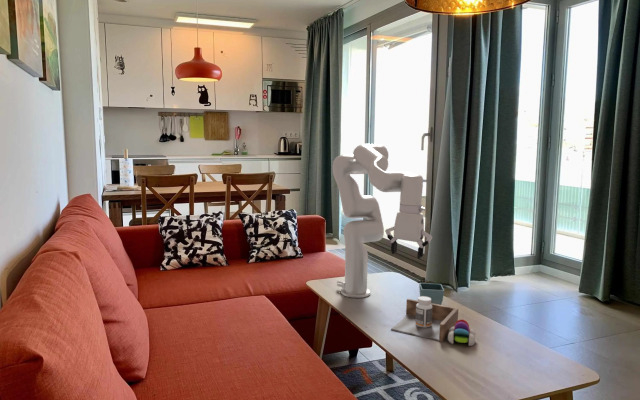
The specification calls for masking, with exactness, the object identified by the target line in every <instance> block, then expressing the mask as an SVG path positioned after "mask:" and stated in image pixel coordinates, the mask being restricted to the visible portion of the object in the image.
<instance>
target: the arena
mask: <svg viewBox="0 0 640 400" xmlns="http://www.w3.org/2000/svg"><path fill="white" fill-rule="evenodd" d="M417 303H418V299H411V298H407V299H406V307H405V308H406V310H405V316H404V317H403V318H401V320H399V321H398V322H397V323H396V324H395V325H394V326H393V327H391V328H390V330H391V331H394V332H398V333H401V334H402V333H403V334H407V335H411V336H416V337H419V338H424V339H429V340H432V341H433V340H434V341H437V342H439V343H443V342H444V341H445V340H446V339H448V334H449V329H450V328H451V327H455V323H456V322H457V321H458V320H459V308H458V307H453V306H449V305H443V304H441V305H438V304H433V303H430V304H431V305H432V325H431V326H430V327H427V328H423V327H419V326H417V325H416V323H415V320H416V304H417Z"/></svg>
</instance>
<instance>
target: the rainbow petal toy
mask: <svg viewBox="0 0 640 400" xmlns="http://www.w3.org/2000/svg"><path fill="white" fill-rule="evenodd" d="M447 341H448V342H449V343H450V344H452V345H454V342H457V343H461V344H463V343H464V344H465V343H468V347H472V346H474V345H475V342H476V332H475V331H474V329H472V328H470V324H469V323H468V321H467V320H466V319H458V321H457V322H456V323H455V327H451V328H450V329H449V334H448V336H447Z"/></svg>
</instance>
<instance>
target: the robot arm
mask: <svg viewBox="0 0 640 400" xmlns="http://www.w3.org/2000/svg"><path fill="white" fill-rule="evenodd" d="M388 160H389V151H388V149H387V148H386V146H384V145H383V144H376V143H374V144H373V143H371V144H370V143H364V144H359V145H357V146H356V147H355V148H354V149H353V151H352V153H350V154H349V153H348V154H347V153H346V154H341V155H338V156H336V157H335V158H334V160H333V162H332V174H333V177H334V180H335V183H336V184H337V188H338V191H339V196H340V198H339V199H340V201H341V202H340V203H341V207H342V212H343V214H344V216H345V217H346V218H348V219H359V220H352V221H348V222H347V223H345V225H344V227H343V236H344V237H343V238H344V243H345V244H344V245H345V250H344V252H345V255H344V256H345V258H344V259H345V261H344V281H342V280H337V282H336V286H337V287H341V289H340V294H341V295H342V296H344V297H346V298H352V299H355V298H356V299H357V298H358V299H361V298H367V297H369V296H370V295H371V290H370V289H368V288H367V287H368V266H369V265H368V263H369V254H368V250H367V248H366V247H365V245H364V244H365V243H370V242H371V243H375V242H379V241H381V240H382V239H383V238H384V235H385V234H386V236H387V239H388V240H389V242H390V243H391V244H390V245H391V246H390V251H391V255H395V254H396V253H397V251H398V241H397V240H402V241H408V242H414V243H416V244H417V245H418V247H417V256H416V258H417V259H421V258H423V257H424V253H425V247H426V246H427V245H428V244H430V242H431V241H432V239H433V235H431V234H430V233H428V232H427V231H425V225H424V224H425V223H424V222H425V221H424V220H425V219H424V213H422V212H425V211H426V207H423V206H422V199H423V187H424V185H423V184H424V178H423V176H422V175H420V174H416V173H412V172H410V171H406V170H404V171H403V170H400V171H399V170H398V171H397V170H393V171H392V170H391V171H387V170H388V167H389V161H388ZM365 174H366V175H368V180H369V183H370V184H371V185H372V186H373V187H374V188H375V189H377V190H379V191H380V192H383V193H397V192H398V193H400V196H399V210H398V211H397V212H396V217H395V220H394V221H395V222H394V224H393V225H394V226H391V227H389V228H386V229H385V228H384V222H383V218H382V214H381V209H380V205H379V202H378V200H377V198H376V197H375V196H372V195H370V194H369V195H366V194H365V195H361V193H360V188H359V184H358V182H357V181H356V180H355V179H354V177H352V176H351V175H365ZM360 218H365V219H360ZM392 231H393V235H392V233H391V232H392ZM384 232H385V233H384ZM424 237H425V238H426V240H425V241H424V240H423V239H424Z"/></svg>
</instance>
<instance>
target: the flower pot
mask: <svg viewBox="0 0 640 400" xmlns="http://www.w3.org/2000/svg"><path fill="white" fill-rule="evenodd" d="M418 284H419V297H421V296H425V297H429V298H431V303H433V304H438V305H443V300H444V296H445V295H444V294H445V288H444V287H443V285H442V284H441V283H427V282H419V283H418Z"/></svg>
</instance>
